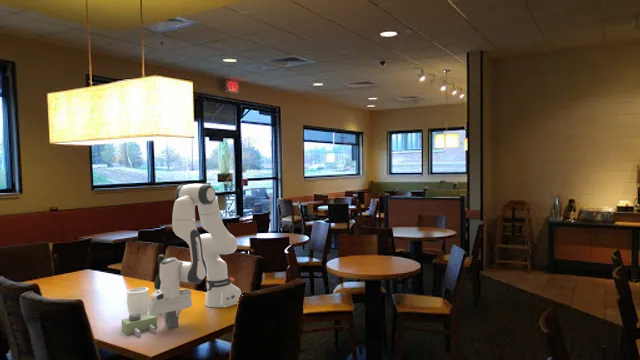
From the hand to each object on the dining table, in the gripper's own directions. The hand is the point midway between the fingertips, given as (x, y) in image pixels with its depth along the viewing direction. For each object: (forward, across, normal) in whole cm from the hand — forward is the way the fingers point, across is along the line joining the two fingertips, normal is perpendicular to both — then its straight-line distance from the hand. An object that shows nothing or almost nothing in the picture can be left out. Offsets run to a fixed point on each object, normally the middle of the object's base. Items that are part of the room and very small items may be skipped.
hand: (171, 320), depth 216 cm
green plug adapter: (+3, +13, -4) cm, 14 cm away
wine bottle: (+3, -5, -26) cm, 27 cm away
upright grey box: (+3, 0, 0) cm, 3 cm away
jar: (+3, +9, -22) cm, 24 cm away
